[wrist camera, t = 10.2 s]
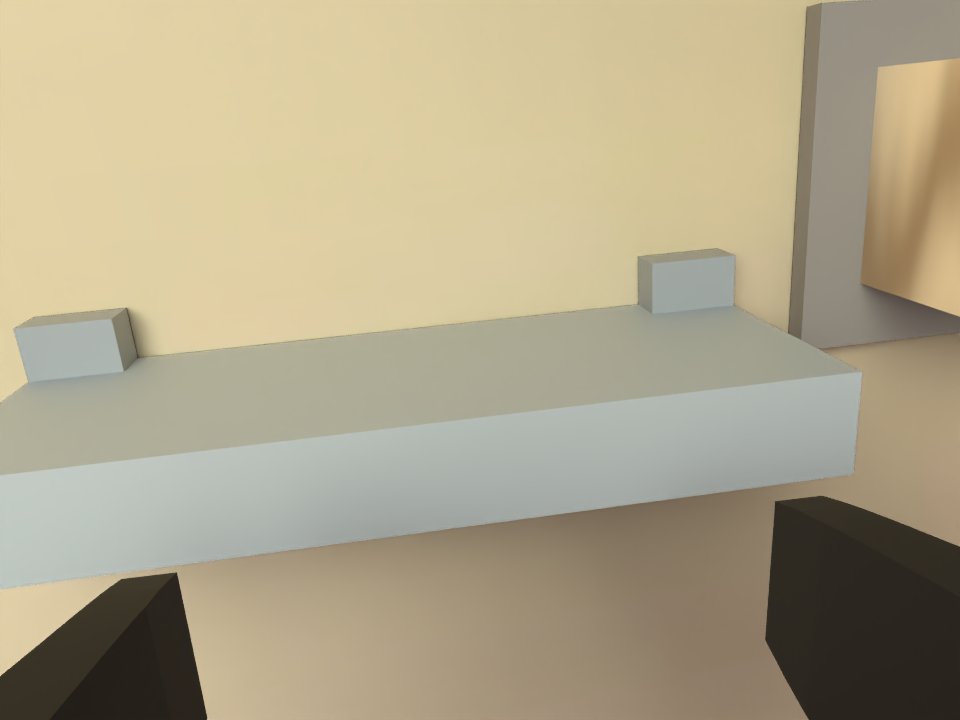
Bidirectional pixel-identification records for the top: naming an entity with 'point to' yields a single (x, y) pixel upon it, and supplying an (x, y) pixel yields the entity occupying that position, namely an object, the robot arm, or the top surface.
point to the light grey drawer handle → (404, 427)
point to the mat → (854, 166)
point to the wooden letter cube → (915, 185)
